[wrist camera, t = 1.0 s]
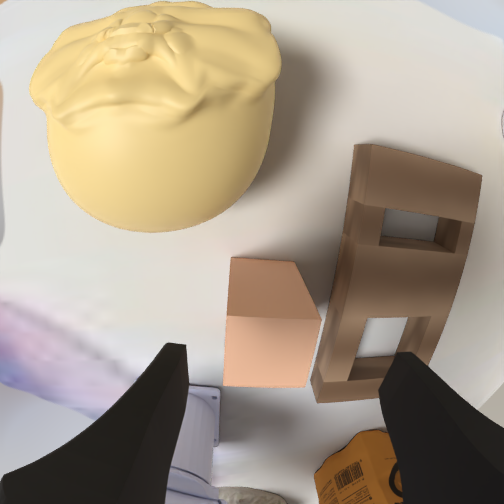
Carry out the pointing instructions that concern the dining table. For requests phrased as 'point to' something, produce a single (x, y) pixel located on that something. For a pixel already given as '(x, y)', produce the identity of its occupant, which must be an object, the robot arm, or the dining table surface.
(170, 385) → the robot arm
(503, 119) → the supplement bottle
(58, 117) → the sculpture
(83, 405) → the dining table surface
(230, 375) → the square peg
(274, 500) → the ceramic cottage
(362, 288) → the socket board
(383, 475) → the coffee package
